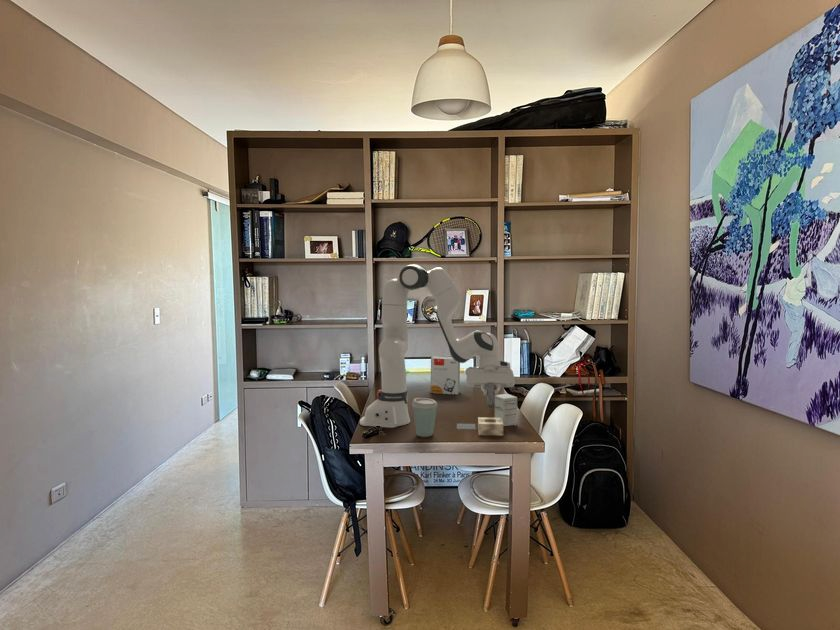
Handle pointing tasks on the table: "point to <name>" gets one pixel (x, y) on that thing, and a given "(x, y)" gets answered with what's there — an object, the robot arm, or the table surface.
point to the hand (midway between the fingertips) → (490, 394)
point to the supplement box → (506, 409)
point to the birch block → (490, 426)
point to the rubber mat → (466, 426)
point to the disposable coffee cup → (424, 416)
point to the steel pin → (490, 395)
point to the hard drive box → (445, 375)
